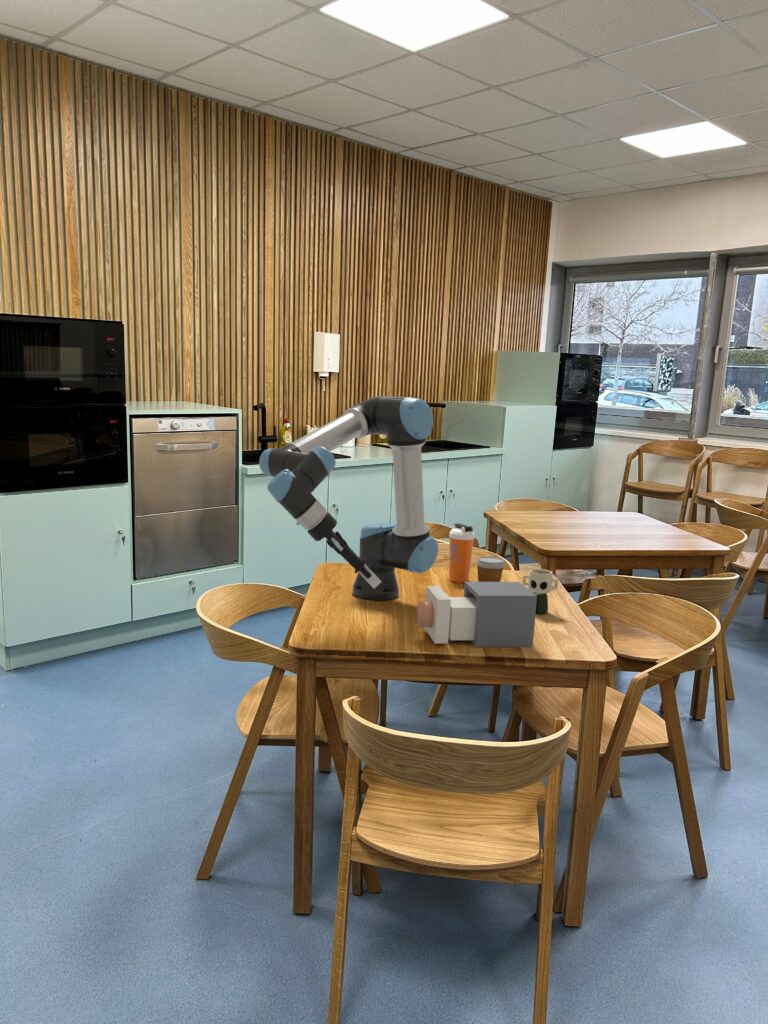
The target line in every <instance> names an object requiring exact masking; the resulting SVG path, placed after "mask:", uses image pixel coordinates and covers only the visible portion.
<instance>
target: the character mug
mask: <svg viewBox="0 0 768 1024" xmlns="http://www.w3.org/2000/svg"><path fill="white" fill-rule="evenodd" d="M528 573H529V574H523V575H522V585H524V586H527V588H528V589H529V590H530V591H532V592H533V593H534V594H536V595H537V603H536V611H537V613H538V614H544V613H545V614H546V613H547V612H548V611H549V600H548V594H549V593H551V592H552V590H557V589H558V588H559V579H557V578H553V574H554V573H553V571H551V570H548V569H545V568H532V569H530V570H529V572H528ZM527 579H528V581H526V580H527ZM553 583H554V585H552V584H553Z"/></svg>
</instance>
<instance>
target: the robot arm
mask: <svg viewBox="0 0 768 1024" xmlns="http://www.w3.org/2000/svg"><path fill="white" fill-rule="evenodd" d="M433 428H434V415H433V412H432V409H431V407H430V405H429V404H427V402H426V401H425V400H423V399H420V398H416V397H412V396H392V395H391V396H388V395H380V396H379V395H378V396H374V397H371V398H368V399H365V400H363V401H361V402H358V403H357V404H355V405H352V406H350V407H349V408H347V409H345V411H344V412H343V414H342V415H341V416H339V417H337V418H335V419H333V420H332V421H329V422H328V423H326V424H324V425H322V426H320V427H318V428H317V429H314V430H312V431H311V432H308V433H307V434H305V435H303V436H302V437H299V438H298V439H296V440H294V441H292V442H290V443H288V444H287V445H285V446H281V447H280V448H275V447H274V448H267V449H264V450H263V452H262V453H261V454H260V456H259V460H258V463H259V468H260V470H261V472H262V473H263V474H264V475H266V476H271V477H272V479H271V480H270V481H269V482H268V484H267V491H268V492H269V493H270V495H271V496H272V497H273V498H274V500H275V501H276V502H277V503H279V505H281V506H282V508H283V509H284V510H286V511H287V513H288V514H289V515H291V517H292V518H293V519H294V520H295V521H296V522H295V523H296V524H295V525H296V526H301V527H302V528H303V529H304V530H306V531H307V534H309V536H310V537H311V538H312V539H313V540H314V541H315V542H321V540H324V538H325V539H326V544H327V545H328V546H329V547H330V548H331V549H333V550H334V551H335V552H336V553H337V554H338V555H340V556H341V557H342V558H343V559H344V560H345V561H346V562H347V563H348V564H349V565H350V566H351V567H352V568H354V574H356V577H355V580H354V582H353V584H352V594H353V595H354V596H355V597H358V598H359V599H365V600H373V601H385V600H386V601H387V600H388V601H389V600H392V599H396V598H398V597H399V595H400V587H399V584H398V580H397V577H396V573H395V571H396V570H395V569H399V570H404V571H408V572H410V573H418V574H423V573H426V572H429V570H430V569H431V568H432V567H433V565H434V563H435V562H436V561H437V557H438V553H439V543H438V541H437V540H436V538H435V537H432V536H431V531H430V527H429V526H428V525H427V524H426V522H425V510H424V509H425V508H424V487H423V482H424V481H423V466H422V465H423V463H422V447H423V446H424V445H425V444H426V442H427V441H426V440H427V438H429V436H430V435H431V434H432V429H433ZM368 435H369V436H370V435H382V436H386V444H387V446H388V447H390V448H391V450H392V464H393V466H392V467H393V468H392V469H393V482H394V483H393V484H394V500H395V501H394V502H395V519H396V520H395V521H396V523H375V524H374V523H373V524H366V525H363V526H362V527H361V529H360V537H359V556H358V555H357V554H356V552H354V551H353V549H352V548H351V547H350V546H349V544H348V543H347V541H346V540H345V538H343V536H342V534H341V533H340V532H339V531H336V532H335V531H334V529H335V527H336V526H337V523H338V522H337V520H336V518H335V517H334V516H333V515H332V514H331V513H330V512H327V509H326V507H324V505H323V504H322V503H321V502H320V501H319V500H318V499H317V498H316V497H315V496H314V494H313V493H314V491H315V490H316V489H317V488H318V487H319V485H320V484H322V482H323V481H325V479H326V478H328V476H330V473H331V472H332V471H333V469H335V466H336V463H337V462H336V458H335V457H334V454H333V453H332V451H334V450H336V449H338V448H339V447H341V446H343V445H345V444H347V443H348V442H350V441H352V440H354V439H362V438H364V437H365V436H366V437H367V436H368Z"/></svg>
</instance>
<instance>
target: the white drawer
mask: <svg viewBox="0 0 768 1024" xmlns="http://www.w3.org/2000/svg"><path fill="white" fill-rule="evenodd" d="M425 590H426V593H425V600H418V602H417V609H416V620H417V625H418V627H419V628H424V630H425V632H426V633H427V635H429V637H430V638H431V640H432V642H433V643H434V644H437V645H438V644H449V641H470V640H474V638H475V624H476V611H477V598H476V597H464V596H452V597H451V596H448V594H447V593H446V592H445V591H444V590H443V588H441V587H440V586H438V585H437V586H435V585H434V586H433V585H431V586H430V585H427V586H426V589H425Z"/></svg>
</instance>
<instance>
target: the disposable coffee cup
mask: <svg viewBox="0 0 768 1024" xmlns="http://www.w3.org/2000/svg"><path fill="white" fill-rule="evenodd" d="M475 564H476V566H477V582H501V580H502V577H503V576H502V575H503V570H504V567H505V566H506V565H505V562H504V559H503V558H500V557H496V556H479V557H477V560H476V561H475Z"/></svg>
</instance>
